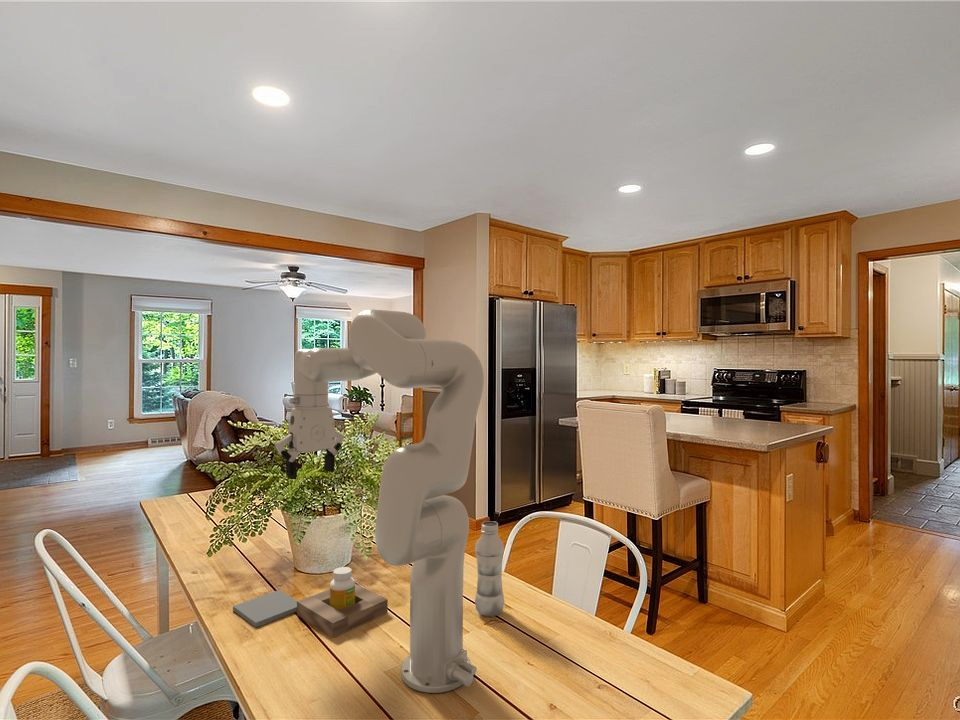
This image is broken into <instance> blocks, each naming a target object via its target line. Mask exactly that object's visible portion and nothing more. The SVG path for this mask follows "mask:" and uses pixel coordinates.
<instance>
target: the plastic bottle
mask: <svg viewBox="0 0 960 720" xmlns="http://www.w3.org/2000/svg"><path fill="white" fill-rule="evenodd" d="M480 533H481V535H480V537H479V538H478V539H477V541H476V542H475V545H474V546H475V547H474V552H475V557H476V558H475V559H476V560H475V561H476V568H477V582H476V583H477V584H476V592H475V597H474V598H475V599H474V605H475V610H476V611H477V613H478V614H479V615H481V616H482V617H490V618H491V617H497V616H499V615H500V614H501V613H502V612H503V611H504V608H505V596H504V591H503V581H502V575H503V573H502V572H503V559H504V552H505V546H504V542H503V541H502V539H501V537H500V536H499V535H498V533H499V523H498V522H497V521H494V520H493V521H492V520H491V521H490V520H487V521H483V522H481V529H480Z"/></svg>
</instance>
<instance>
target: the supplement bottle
mask: <svg viewBox="0 0 960 720" xmlns="http://www.w3.org/2000/svg"><path fill="white" fill-rule="evenodd" d="M352 572H353V570H352V568H351V567H349V566H341V567H340V566H339V567H337V568H334V569H333V572H332V573H333V574H332V576H333V579H332V580H331V581H330V584H329V589H330V606H331V607H333V608H334V609H336V610H341V609H343V608H346V607H348V606H350V605H353V604H355V584H356V581H355V579H354V577H353V573H352Z"/></svg>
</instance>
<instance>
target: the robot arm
mask: <svg viewBox="0 0 960 720" xmlns="http://www.w3.org/2000/svg"><path fill="white" fill-rule="evenodd" d="M350 323H351V324H350V326H349V331H348V333H349V334H348V337H349V342H348V347H346V348H345V347H315V348H303V349H302V348H301V349H298V350H296V351H295V353H294V370H293V371H294V379H293V380H294V382H293V383H294V386H293V387H294V389H293V390H294V394H293V397H290V398H289V404H290V405H293V407H294V408H293V407H292V408H291V412H290V416H289V422H288V432H287V435H285V436H284V437H282V438H281V439H280V440H278V441H277V442H275V443H274V446H275V449H276V450H277V452H278V455H279V456H280V457H281V458H283V461H285V475H286V476H287V477H286V478H288V479H291V480H297V479H298V462H297V461H296V459H297V458H298V456H299V455H300V454H301V453H302V454H305V453H312V452H320V451H325V454H324V456H323V457H324V460H323V462H324V469H323V470H324V471H325V472H328V473H334V472H335V465H336V463H335V462H336V456H337V455H338V451H339V450H340V448H341V447H342V444H343V441H344V439H345V435H344V434H341V433H340V432H337V431H336V429H335V419H334V413H333V408H332V407H331V406H329V382H345V381H346V382H348V381H350V382H351V381H359V380H362V379H364V378H367V377H372V376H373V375H375V374H378V375H379V376H380V377H381V378H382V379H383V380H385V382H387V384H388V383H389V384H390V386H391V385H392V386H393V387H395V388H399V389H406V390H407V389H408V390H409V389H421V388H424V389H425V388H438V387H439V388H440V389H441V390H440V393H439V394H438V395H437V396H436V397H435V400H434V401H433V403H432V405H431V407H430V408H429V412H428V413H427V414H428V415H427V418H426V428H425V433H424V436H423V439H422V440H421V442H418V443H411V444H405V445H402V446H400V447H398V448H396V449H394V450H393V451H392V452H391V453H390V454H389V455H388V456H387V458H386V460H385V462H384V465H383V467H382V471H381V475H380V476H381V477H380V484H379V491H378V492H379V493H378V500H377V508H376V515H375V516H376V517H375V525H374V526H375V528H374V539H375V547H376V549H377V552H378V554H379V556H380V558H381V559H382V560H383V561H384V562H385V563H387V564H388V565H391V566H395V567H402V566H405V565H409V564H412V566H411V570H410V583H409V584H410V586H409V589H410V591H409V603H410V604H409V607H410V608H409V655H408V656H406V658H405V659H404V661H402V664H401V669H400V670H401V679H402V680H403V682H404V683H405V684H406V685H407V686H408V687H410V688H411V689H413V690H415V691H418V692H420V693H421V692H422V693H429V694H439V693H445V692H450V691H452V690H455V689H457V688H460V687H461V686H465V687H470V686H471V685H472V683H473V681H474V675H476V673H477V667H476V666H475V665H473V664H472V663H471V659H470V658H469V656H468V651H467V650H466V649H465V648H464V644H463V643H464V640H463V639H464V637H463V636H464V625H463V624H464V568H465V567H464V566H465V565H464V563H465V555H466V553H465V552H466V549H467V543H468V537H469V531H470V519H469V518H470V517H469V514H468V511H467V508H466V507H465V505H464V504H463V502H462V501H460V500H459V499H458V498H457V497H455V496H452V495H448V494H451V493H454V492H457V491H458V490H460V489H462V488H463V487H464V485H465V484H466V482H467V479H468V475H469V470H470V465H471V464H470V463H471V458H472V457H471V456H472V450H473V442H474V436H475V429H476V421H477V416H478V411H479V406H480V404H481V399H482V396H483V392H484V382H485V380H484V379H485V376H484V369H483V366H482V363H481V360H480V358H479V355H477V354H476V352H475V351H474V350H473V349H472V348H471V347H470V346H468V345H467V344H464V343H462V342H459V341H455V340H450V339H438V338H437V339H435V338H434V339H433V338H431V339H427V338H426V328H425V325H424V323H423V322H422V320H420V318H419V317H417V316H416V315H414V314H412V313H410V312H405V311H399V310H383V309H374V308H373V309H366V310H363V311H361V312H359V313H358V314H357V315H355V317H354V318H353V320H352V322H350ZM286 445H287V447H288V450H286V448H285V446H286Z"/></svg>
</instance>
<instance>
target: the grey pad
mask: <svg viewBox="0 0 960 720" xmlns="http://www.w3.org/2000/svg"><path fill="white" fill-rule="evenodd" d="M297 601H298V600H297V599H296V598H293V597H292V596H290V595H289V594H287V593H286V592H284V591H282V590H280V589H278V590H275V591H271V592H269V593H267V594H264V595H261V596H258V597H255V598H252V599H249V600H245V601H244V602H241V603H238V604H234V605H232V611H233V612H234V613H236V614H237V615H238V616H240V617H241V618H242V619H244V620H245V621H246V622H248V623H249V624H251V626H253V627H254V628H258V627H260V626H263V625H265V624H269V623H271V622H274V621H276V620H279V619H280V618H284V617H286V616H289V615H291V613H292V614H294V613H297V612H296V611H297ZM293 612H294V613H293Z"/></svg>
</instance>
